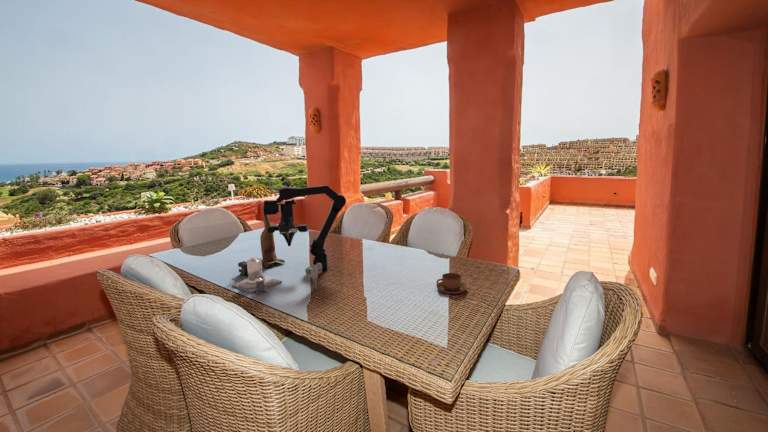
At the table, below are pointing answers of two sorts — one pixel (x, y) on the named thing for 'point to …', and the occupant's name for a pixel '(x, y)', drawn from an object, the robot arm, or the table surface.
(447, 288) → the cup and saucer
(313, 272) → the mechanical component
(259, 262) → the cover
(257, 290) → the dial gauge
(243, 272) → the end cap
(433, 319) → the table surface
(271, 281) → the turntable
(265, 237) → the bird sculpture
